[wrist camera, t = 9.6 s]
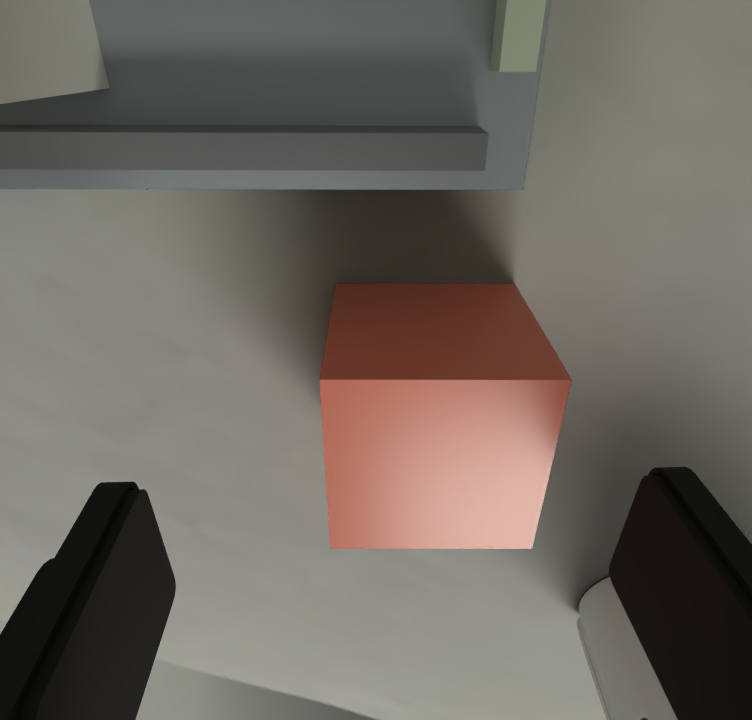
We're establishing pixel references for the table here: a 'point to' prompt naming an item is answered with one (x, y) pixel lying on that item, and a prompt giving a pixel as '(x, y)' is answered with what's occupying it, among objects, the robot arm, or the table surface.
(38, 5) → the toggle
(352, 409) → the red cube
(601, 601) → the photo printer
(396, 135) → the grey tray
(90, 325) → the table surface
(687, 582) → the robot arm
